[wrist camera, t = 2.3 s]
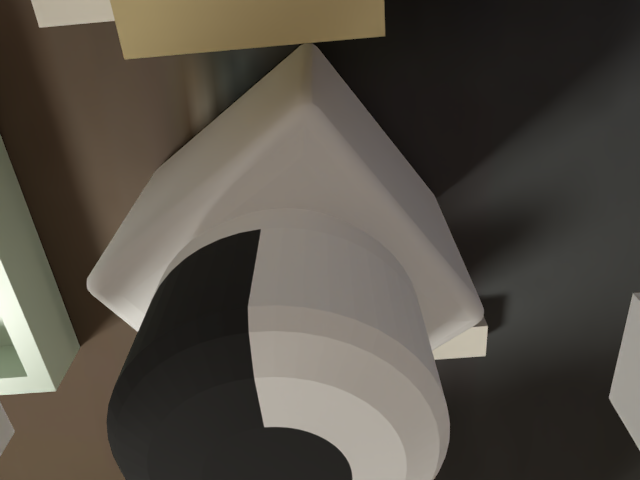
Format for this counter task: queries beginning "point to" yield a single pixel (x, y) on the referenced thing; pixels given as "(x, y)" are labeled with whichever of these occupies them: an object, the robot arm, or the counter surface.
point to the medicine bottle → (285, 297)
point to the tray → (28, 300)
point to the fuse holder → (238, 33)
